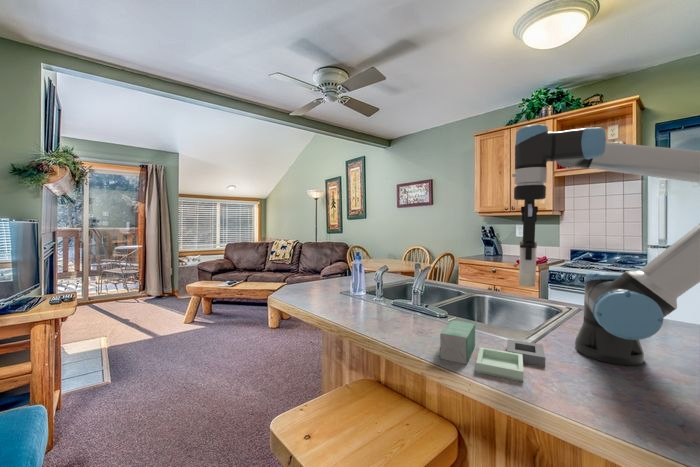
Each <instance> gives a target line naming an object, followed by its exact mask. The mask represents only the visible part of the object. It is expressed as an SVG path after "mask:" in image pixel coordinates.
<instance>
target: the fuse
mask: <svg viewBox="0 0 700 467" xmlns="http://www.w3.org/2000/svg"><path fill="white" fill-rule="evenodd" d="M523 243H524V241H522V240H521V241H519V246H520V245H523ZM537 245H538V242H537V241H535V247H534V272H522V257H523V248H520V247H519V259H518V260H519V263H518V264H519V266H518V270H519V272H518V285H519V286H521V287H526V288H527V287H530V288H533V287H534V288H535V287H536V283H537V282H536V279H537V278H536V277H537V275H536V274H537V249H538V246H537Z"/></svg>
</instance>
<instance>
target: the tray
mask: <svg viewBox="0 0 700 467" xmlns="http://www.w3.org/2000/svg"><path fill="white" fill-rule="evenodd" d="M475 364H476V365H475V372H476V373H477V374H478V373H479V374H484V375H488V376H493V377H497V378H502V379H507V380H512V381H517V382H521V383H524V363H523V355H522V354H518V353H512V352H507V350H501V349H499V350H498V349H494V348H487V347H482V346H481V347H479V350H478V354H477V358H476V362H475Z"/></svg>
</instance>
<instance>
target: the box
mask: <svg viewBox="0 0 700 467" xmlns="http://www.w3.org/2000/svg"><path fill="white" fill-rule="evenodd" d="M439 336H440V340H439V342H440V345H439V349H440V350H439V351H440V354H439V358H440V359H441V360H444V361H449V362H453V363H456V364H457V363H458V364H464V365H467V363H468V361H469V360H470V358H471V356H472V353H473V351H474V349H475V346H476V324H475V323H473V322H469V321H468V322H467V321H462V320H455V319H454V320H450V321H449V322H448V324H446V326H445V327H444V329H443V330H441V332H440V335H439Z"/></svg>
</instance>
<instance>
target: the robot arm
mask: <svg viewBox="0 0 700 467" xmlns="http://www.w3.org/2000/svg"><path fill="white" fill-rule="evenodd" d="M606 135H607V133H606V130H605V128H604V127H601V126H599V127H588V126H587V127H585V128H576V129H569V130H567V129H566V130H561V131H549V129H548V126H547V125H545V124H530V125H526V126H522V127H520V128H519V129H517V131H516V133H515V143H514V144H515V145H514V173H512V175H511V176H512V177H513V178H514V184H515V185H516V186H514V188H513V189H514V190H513V199H514V201H515V200H516V201H523V202H524V204H523V205H524V206H520V213H521V222H522V239H521V241H524V243H523V245H520V244H519V249H520V248H523V257H522V272H534V247H535V242H536V241H535V238H536V223H537V220H538V216H537V215H538V211H539V206H537V205H536V203H535V201H536V200H545V199H546V196H547V193H546V192H547V186H546V185H545V184H546V183H547V175H548V173H547V172H548V170H547V169H548V168H547V164H548V162H556V163H557V165H559V166H561V167H563V168H567V169H568V168H580V169H591V170H598V171H604V172H605V171H606V172H613V173H621V174H630V175H638V176H643V177H644V176H645V177H652V178H659V179H660V178H661V179H668V180H675V181H681V182H690V183H695V184H696V183H699V184H700V150H696V149H695V150H693V149H683V148H675V147H674V148H671V147H665V146H663V147H662V146H652V145H641V144H629V143H619V142H618V143H617V142H610V141H609V142H607V136H606ZM535 205H536V206H535ZM699 283H700V223H698V224H697V225H696V226H694V227H693V228H692V229H690V230H689V231H688V232H687V233H685V234H684V235H683V236H681V237H680V238H679V239H677V240H676V241H675V242H674V243H673V244H671V245H670V246H669V247H667V248H666V249H665V250H663V251H662V252H661V253H660V254H658V255H657V256H655V258H653V259H652V260H650V261H649V262H648V263H646V264H645V265H644V266H643V267H641V268H640V269H639V270H625V271H624V272H623V273H621V274H620V273H619V274H618V273H605V272H588V273H586V274H585V278H584V281H583V284H584V300H583V301H584V302H583V322H582V324H581V327H580V329H579V332H578V334H577V335H576V337H575V342H574V345H575V346H574V348H575V349H576V351H578V352H579V353H580V354H582V355H584V356H586V357H589V358H591V359H594V360H597V361H600V362H604V363H608V364H613V365H620V366H638V365H641V364H643V363H644V360H645V357H644V356H645V353H644V350H643V347H642V344H641V340H645V339H649V338H651V337H653V336H654V335H656V334H657V333H658V332H659V331H660V330H661V328H662V326H663V324H664V318H665V317H667V316H669V315H670V314H671V313H672V312H674V311H675V310H677V308H678V302H677V301H678V300H677V299H678V298H679V297H681V296H682V295H683V294H685V293H686V292H687V291H689V290H690V289H693V287H695V286H696V285H698V284H699Z"/></svg>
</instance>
